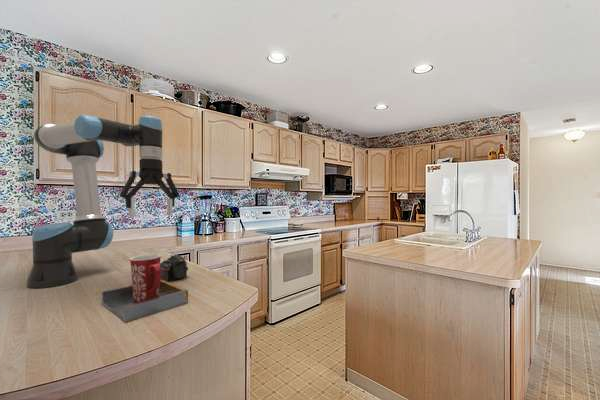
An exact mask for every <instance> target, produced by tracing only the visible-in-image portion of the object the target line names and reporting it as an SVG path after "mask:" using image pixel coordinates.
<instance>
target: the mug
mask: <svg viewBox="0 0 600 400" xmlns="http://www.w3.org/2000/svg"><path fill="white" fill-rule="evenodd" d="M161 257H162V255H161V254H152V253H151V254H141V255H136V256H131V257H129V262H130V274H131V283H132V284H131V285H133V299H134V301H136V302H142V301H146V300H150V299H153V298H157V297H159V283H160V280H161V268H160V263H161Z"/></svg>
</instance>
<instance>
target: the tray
mask: <svg viewBox="0 0 600 400" xmlns="http://www.w3.org/2000/svg"><path fill="white" fill-rule="evenodd" d="M188 303H189V290H188V289H186V288H183V287H181V286H178V285H176V284H174V283H171V282H170V281H168V282H167V281H164V280H162V279H161V280H160V283H159V297H157V298H153V299H150V300H146V301H142V302H136V301H134V299H133V285H132V284H131V285H130V284H129V285H127V286H126V285H125V286H122V287H117V288H113V289H108V290H104V291H101V305H102V306H103V307H105V308H106V309H107V310H108V311H110V312H111V313H113V314H114V315H115V316H116V317H117V318H119V319H121V321H123V322H124V323H127V322H131V321H134V320H137V319H141V318H144V317H147V316H150V315H153V314H157V313H160V312H163V311H166V310H169V309H173V308H176V307H179V306H181V305H184V304H188Z"/></svg>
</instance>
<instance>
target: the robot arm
mask: <svg viewBox="0 0 600 400" xmlns="http://www.w3.org/2000/svg"><path fill="white" fill-rule="evenodd" d="M33 139H34V140H35V143H36V144H37V145H38V146H39V147H40V148H41V149H43V150H45V151H46V152H48V153H49V152H50V153H53V154H59V155H64V156H65V157H66V161H67V162H69V163H70V164H71V171H72V180H73V190H74V199H75V209H76V210H75V211H76V217H75V219H74V220H73V222H72V223H71V222H69V221H65V222H64V221H63V222H62V221H61V222H54V223H47V224H43V225H40V226H37V227H35V228H34V229H33V231H32V238H31V241H32V266H31V267H32V268H31V270H30V272H29V275H28V277H27V280H26V287H27V288H30V289H42V288H43V289H44V288H45V289H46V288H51V287H58V286H62V285H63V286H64V285H67V284H70V283H73V282H76V281H77V280H78V278H79V277H78V271H77V269H76V267H75V264H74V263H73V254H74V253H75V254H77V253H82V252H89V251H97V250H100V249H105V248H106V247H108V246H109V245H110V244H111V242H112V241H113V238H114V227H113V226H112V224H111V222H109V221H108V222H107V219H106V217H105V216H103V215H102V210H101V201H100V200H101V199H100V193H99V191H100V190H99V184H98V174H97V166H96V164H97V163H98V162H99V161H100V158H102V156H103V154H104V150H105V146H104V142H111V143H116V144H117V143H118V144H121V145H123V146H125V147H137V146H139V147H138V149H139V150H138V151H139V152H138V153H139V156H138V157H139V158H140V159H139V171H135V170H131V171H129V175H128V178H127V180H126V182H125V184H124V186H123V188H122V189H121V191H120V193H119V197H121V198H122V199H123V198H124V199H125V208H126V209H128V218H131V219H134V218H135V198H133V197H134V196H135V195H136V194H137V192H139V191H140V190H141V188H142V187H143V186H145V185H157V186H159V187H160V189H161V190H162V191H163V192H164V193H165V195H166V196H167V197H168V198H166V205H167V206H166V207H167V208H166V216H173V208H174V207H175V199H176V198H179V197H180V193H179V191H178V189H177V187H176V186H175V182H174V181H173V179H172V174H171V172H170V173H169V172H167V173H163V160H162V159H163V125H162V120H161V119H160V118H159V117H156V116H153V115H141V116H140V117H139V119H138V124H133V125H132V124H127V123H125V122H119V121H114V120H111V119H105V118H101V117H97V116H94V115H87V114H78V116H77V117H76V119H75V120H74V121H73V122H72V121H70V122H67V123H62V124H54V123H46V124H43V125H40V126H39V127H37V128H36V130H35V131H34V134H33ZM103 141H104V142H103ZM138 177H139V178H140V180H138V182H137V184H136V185H135V186H134V187H132V186H133V183H134V181H135V180H136V178H138ZM163 178H164V179H165V181H166V183H167V185H168V186H167V185H166V184H165V182H164V181H163V180H162V179H163ZM131 187H132V189H131ZM130 189H131V190H130ZM129 190H130V191H129Z"/></svg>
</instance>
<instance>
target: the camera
mask: <svg viewBox="0 0 600 400" xmlns="http://www.w3.org/2000/svg"><path fill="white" fill-rule="evenodd" d="M160 268H161V279H162V280H164V281H167V282H171V281H175V280H179V279H182V278H184V277H186V276H187V274H188V270H189V267H187V261H186V259H185V258H184V257H183V256H181V255H179V254H178V253H175V254H170V257H167V259H165V260H163V261H162V262H160Z"/></svg>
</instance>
